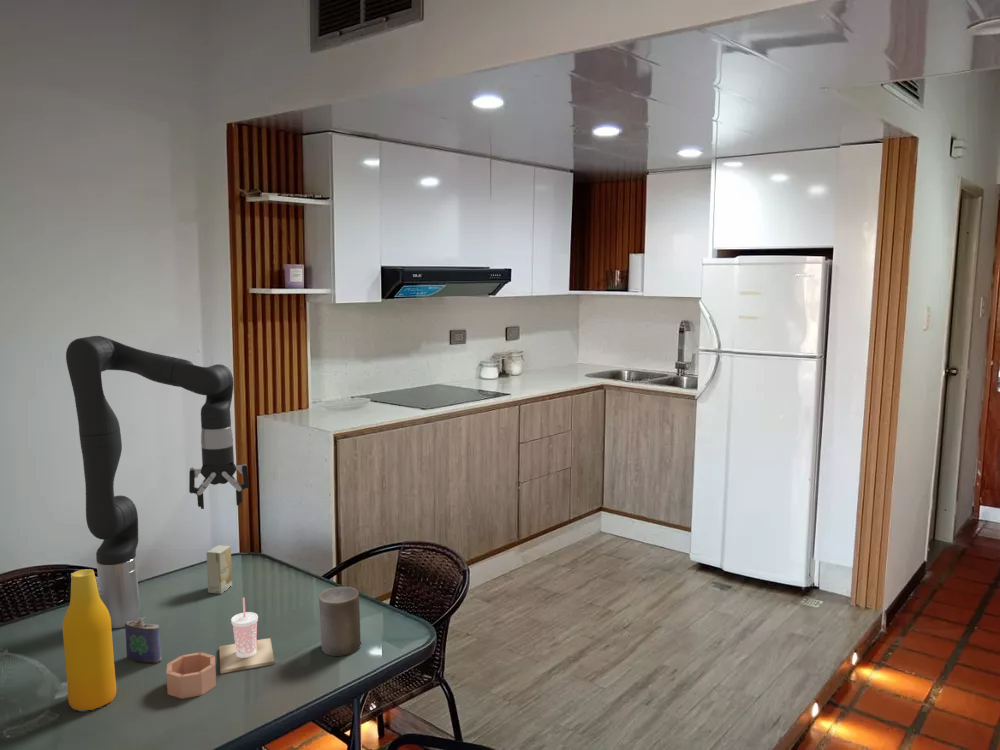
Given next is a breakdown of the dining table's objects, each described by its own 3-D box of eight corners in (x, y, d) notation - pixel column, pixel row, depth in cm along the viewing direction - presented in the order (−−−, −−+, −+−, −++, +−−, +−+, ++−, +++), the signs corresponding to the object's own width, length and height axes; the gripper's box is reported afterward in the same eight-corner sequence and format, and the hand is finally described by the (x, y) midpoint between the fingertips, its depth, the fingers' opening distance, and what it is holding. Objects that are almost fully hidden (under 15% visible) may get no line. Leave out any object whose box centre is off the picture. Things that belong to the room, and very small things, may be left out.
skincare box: (221, 594, 221) (219, 553, 219) (207, 593, 222) (205, 552, 220) (233, 585, 227) (231, 545, 225) (220, 584, 228) (217, 544, 226)
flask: (164, 659, 185) (161, 617, 183) (155, 665, 182) (152, 623, 181) (131, 654, 188) (128, 612, 186) (122, 660, 185) (119, 618, 183)
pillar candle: (368, 642, 194) (366, 584, 192) (345, 660, 185) (343, 600, 183) (336, 634, 198) (334, 578, 196) (312, 651, 189) (309, 593, 187)
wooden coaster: (220, 673, 179) (220, 670, 179) (219, 649, 190) (219, 646, 190) (274, 664, 183) (274, 661, 183) (270, 641, 194) (270, 638, 194)
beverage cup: (244, 661, 182) (242, 605, 180) (227, 655, 186) (224, 599, 184) (265, 650, 188) (262, 596, 186) (247, 644, 191) (245, 590, 189)
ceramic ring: (167, 701, 168) (165, 679, 167) (169, 678, 177) (167, 657, 176) (216, 692, 171) (215, 671, 170) (215, 670, 180) (214, 649, 180)
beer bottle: (66, 716, 162) (55, 584, 158) (71, 694, 170) (60, 568, 166) (115, 706, 166) (105, 577, 161) (117, 685, 174) (108, 561, 170)
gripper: (186, 450, 190) (190, 514, 192) (247, 445, 195) (250, 507, 197) (187, 443, 197) (190, 505, 199) (246, 438, 202) (248, 499, 204)
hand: (220, 506), depth 198 cm, fingers open, 8 cm apart
